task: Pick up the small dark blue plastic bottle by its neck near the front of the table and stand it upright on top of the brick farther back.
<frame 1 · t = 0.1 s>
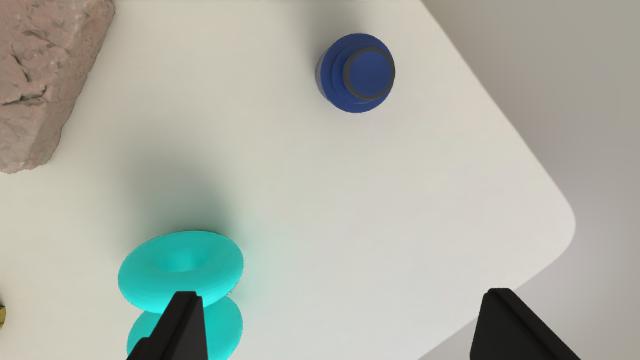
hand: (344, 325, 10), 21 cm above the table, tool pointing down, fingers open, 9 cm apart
pair of turquoise discs: (203, 266, 34), on the table
brick: (40, 63, 27), on the table
bottle: (344, 75, 28), on the table
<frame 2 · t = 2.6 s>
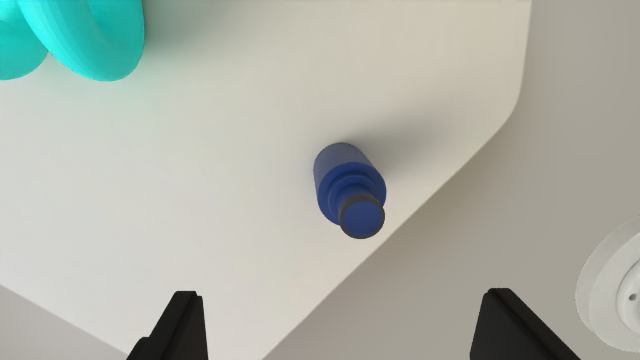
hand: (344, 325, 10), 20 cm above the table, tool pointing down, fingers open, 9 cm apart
pair of turquoise discs: (86, 14, 25), on the table
bottle: (340, 169, 30), on the table
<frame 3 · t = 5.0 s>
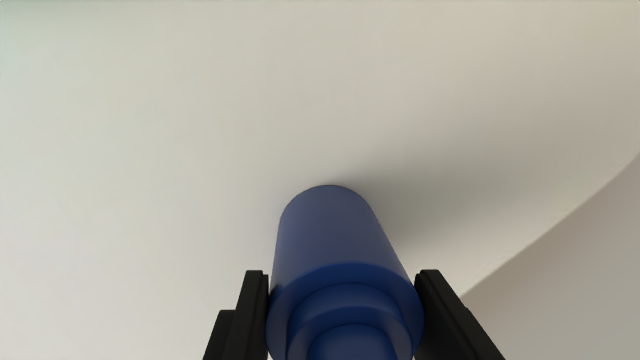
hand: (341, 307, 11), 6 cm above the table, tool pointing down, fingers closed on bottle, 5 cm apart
bottle: (327, 230, 17), on the table, touching gripper
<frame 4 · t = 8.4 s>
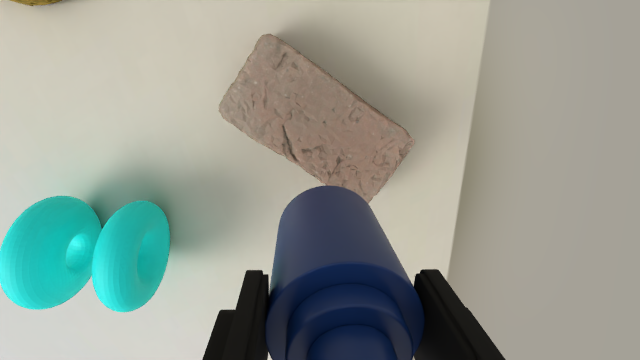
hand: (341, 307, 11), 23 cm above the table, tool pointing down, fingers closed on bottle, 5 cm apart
pair of turquoise discs: (127, 226, 34), on the table
brick: (315, 121, 32), on the table
bottle: (327, 231, 17), point 17 cm above the table, touching gripper
when the fingers open (11 cm above the table, at t = 11.9 s): bottle stays where it is, resting on brick.
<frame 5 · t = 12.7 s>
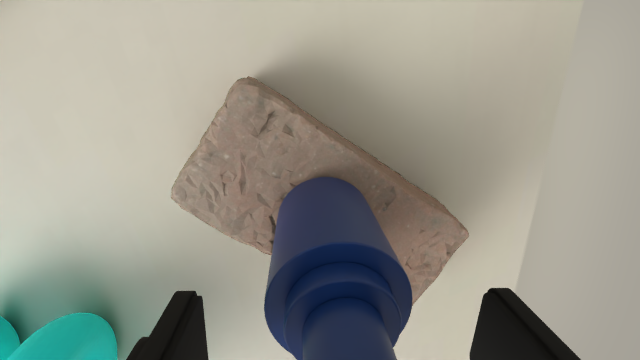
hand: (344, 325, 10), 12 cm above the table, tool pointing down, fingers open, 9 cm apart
pair of turquoise discs: (58, 333, 24), on the table
brick: (319, 191, 22), on the table, touching bottle
bottle: (324, 220, 18), point 5 cm above the table, touching brick
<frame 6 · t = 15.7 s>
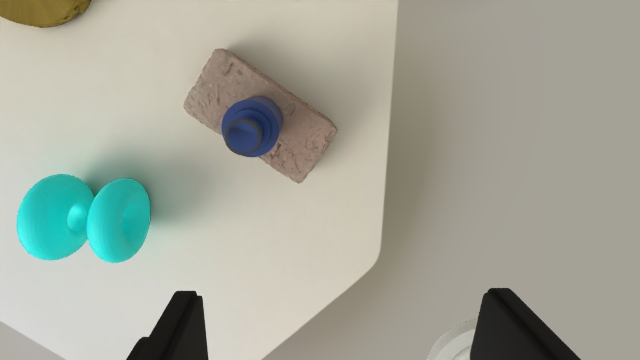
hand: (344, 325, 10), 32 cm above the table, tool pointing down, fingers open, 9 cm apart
pair of turquoise discs: (116, 201, 42), on the table
brick: (264, 115, 40), on the table, touching bottle
bottle: (259, 119, 35), point 5 cm above the table, touching brick
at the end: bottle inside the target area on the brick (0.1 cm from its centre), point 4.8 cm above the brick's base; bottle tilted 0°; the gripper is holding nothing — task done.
